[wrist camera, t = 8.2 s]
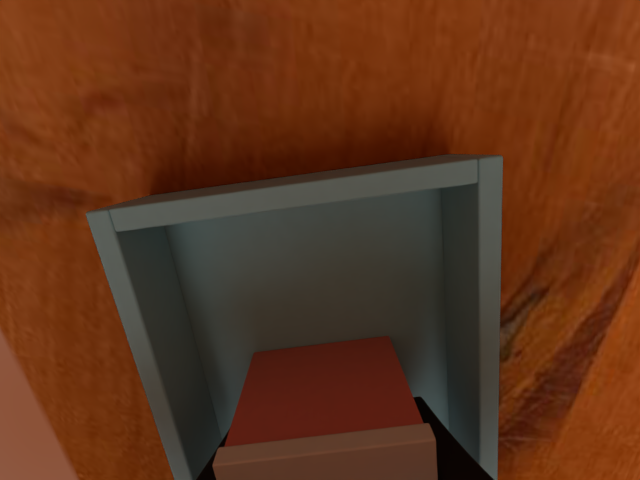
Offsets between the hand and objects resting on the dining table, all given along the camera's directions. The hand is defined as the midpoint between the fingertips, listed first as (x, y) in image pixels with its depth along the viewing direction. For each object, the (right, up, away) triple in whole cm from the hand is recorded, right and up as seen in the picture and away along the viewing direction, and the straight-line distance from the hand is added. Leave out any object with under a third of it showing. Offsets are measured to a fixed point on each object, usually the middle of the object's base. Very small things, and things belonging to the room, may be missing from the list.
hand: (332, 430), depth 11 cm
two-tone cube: (0, 0, +1) cm, 1 cm away
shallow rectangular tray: (0, 0, +2) cm, 2 cm away
